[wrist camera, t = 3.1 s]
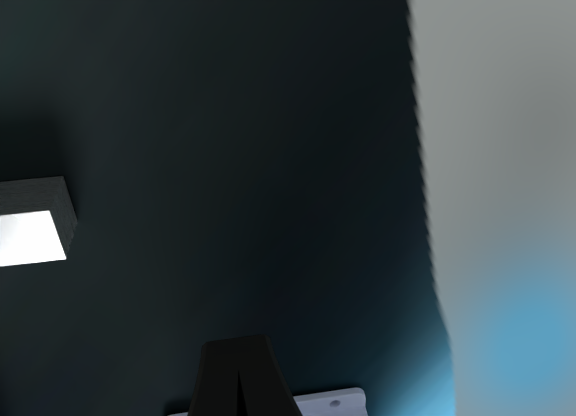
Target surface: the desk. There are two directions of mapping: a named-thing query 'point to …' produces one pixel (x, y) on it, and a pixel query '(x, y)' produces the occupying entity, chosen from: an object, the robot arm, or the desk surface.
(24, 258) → the bar
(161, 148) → the desk surface
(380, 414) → the desk surface
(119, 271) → the desk surface
